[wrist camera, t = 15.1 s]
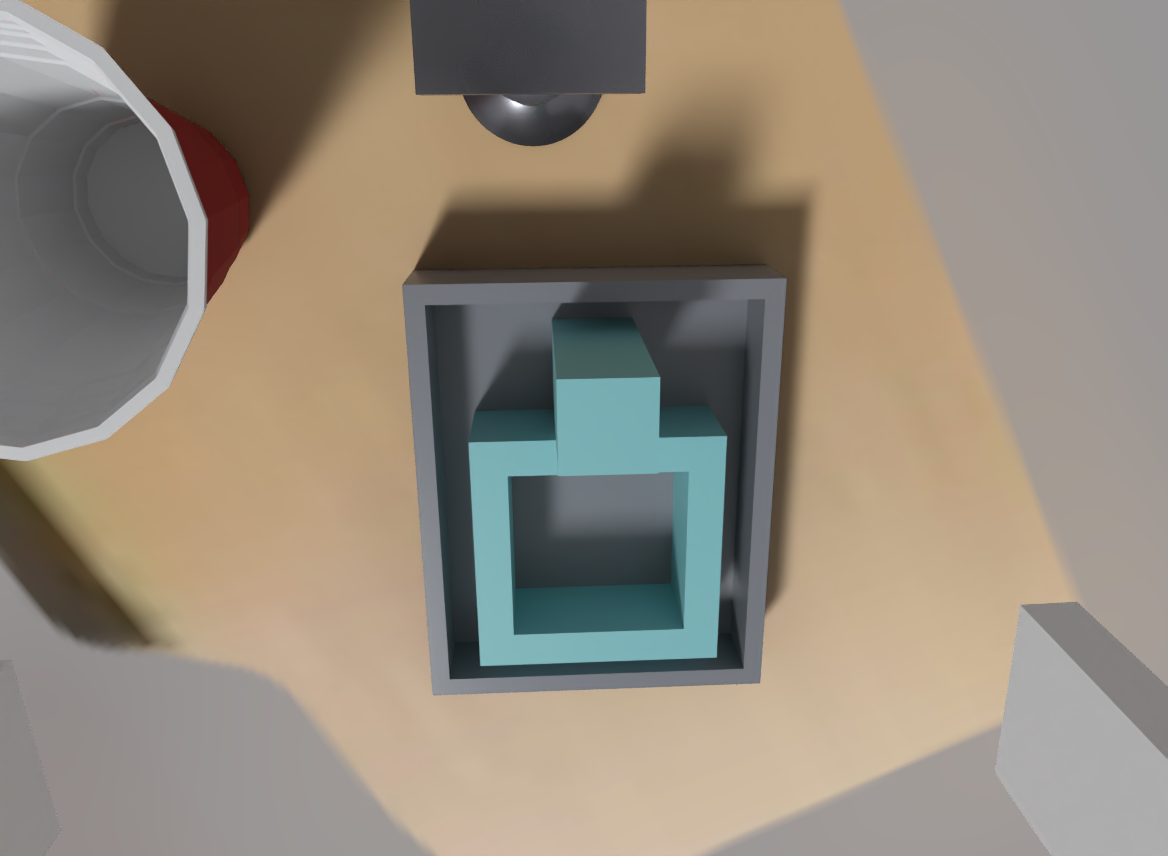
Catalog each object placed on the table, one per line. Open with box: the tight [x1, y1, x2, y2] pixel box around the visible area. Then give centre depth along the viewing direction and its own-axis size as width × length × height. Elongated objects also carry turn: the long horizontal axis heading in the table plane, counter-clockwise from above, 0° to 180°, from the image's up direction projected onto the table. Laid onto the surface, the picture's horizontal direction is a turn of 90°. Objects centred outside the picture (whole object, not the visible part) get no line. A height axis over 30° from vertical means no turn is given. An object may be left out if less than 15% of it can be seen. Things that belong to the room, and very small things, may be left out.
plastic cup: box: [0, 0, 249, 461], centre depth 26 cm, size 11×11×12 cm
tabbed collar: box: [468, 318, 727, 666], centre depth 32 cm, size 12×9×8 cm
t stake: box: [410, 0, 646, 146], centre depth 25 cm, size 5×5×13 cm
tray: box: [402, 264, 787, 695], centre depth 35 cm, size 16×13×3 cm
